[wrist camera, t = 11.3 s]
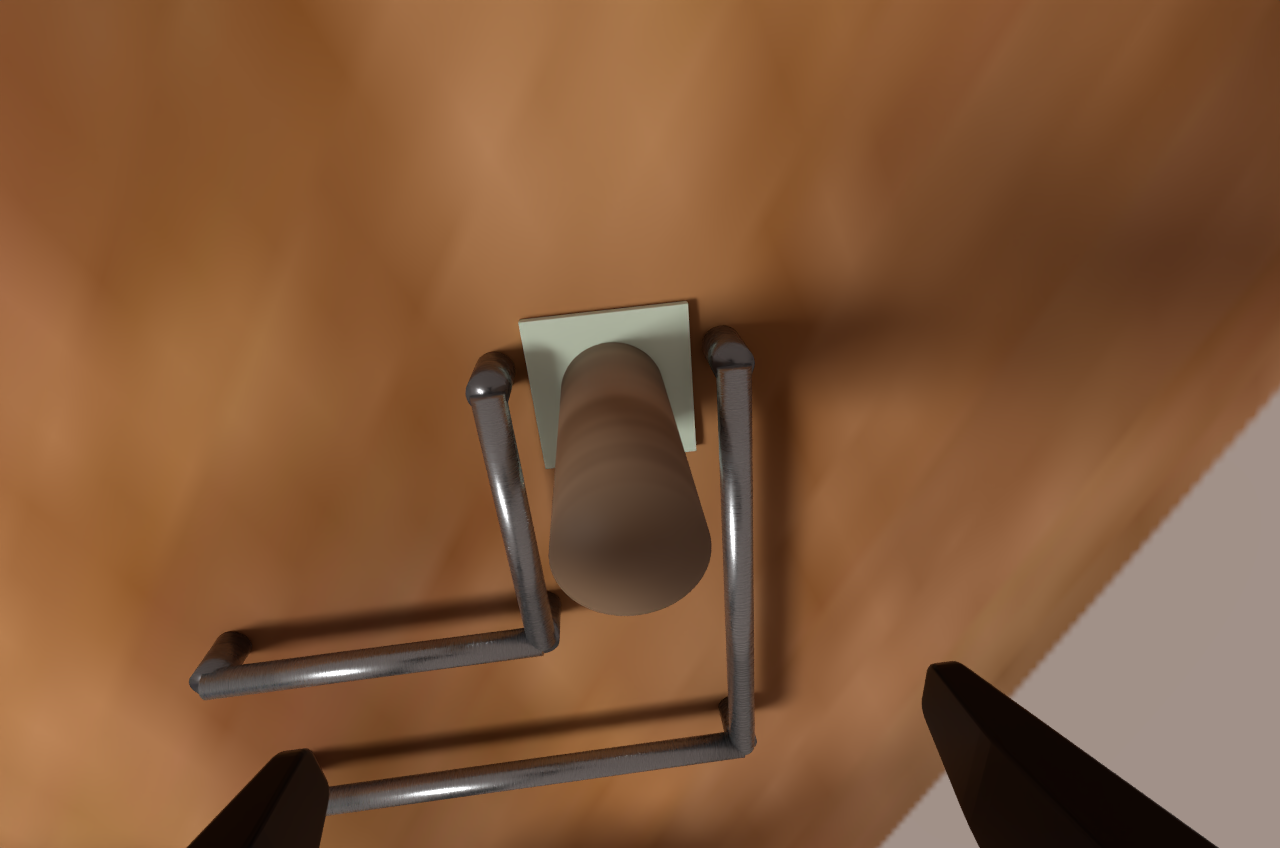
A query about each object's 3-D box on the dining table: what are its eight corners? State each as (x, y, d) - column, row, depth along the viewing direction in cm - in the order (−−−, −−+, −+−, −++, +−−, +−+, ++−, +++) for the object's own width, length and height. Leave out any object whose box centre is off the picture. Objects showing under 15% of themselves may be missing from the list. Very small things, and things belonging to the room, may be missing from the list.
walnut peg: (667, 430, 20) (714, 604, 13) (568, 442, 20) (561, 625, 13) (659, 336, 19) (708, 475, 11) (553, 348, 18) (535, 496, 11)
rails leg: (746, 703, 27) (760, 752, 25) (556, 729, 26) (555, 781, 24) (739, 323, 19) (758, 349, 17) (471, 354, 19) (458, 384, 17)
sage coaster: (694, 446, 21) (696, 450, 20) (545, 464, 21) (545, 469, 20) (686, 300, 18) (688, 303, 18) (519, 319, 18) (518, 322, 18)
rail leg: (746, 713, 27) (760, 762, 25) (289, 775, 26) (264, 831, 24) (743, 566, 23) (759, 609, 21) (211, 634, 23) (174, 686, 20)
